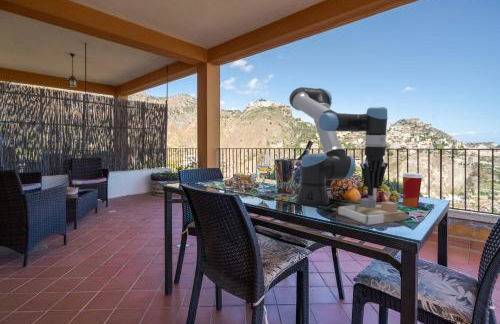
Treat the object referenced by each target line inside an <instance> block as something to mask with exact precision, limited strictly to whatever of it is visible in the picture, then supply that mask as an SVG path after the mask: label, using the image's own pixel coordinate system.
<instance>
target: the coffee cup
mask: <svg viewBox="0 0 500 324" xmlns="http://www.w3.org/2000/svg"><path fill="white" fill-rule="evenodd" d="M401 176H402V206H404V207H409V208H418V207H419V202H420V196H421V188H422V182H423V181H422V180H423V175H422V173H417V172H416V173H415V172H404V173H402V175H401Z"/></svg>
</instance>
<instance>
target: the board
mask: <svg viewBox="0 0 500 324" xmlns="http://www.w3.org/2000/svg"><path fill="white" fill-rule="evenodd" d="M354 205H355V206H356V207H355V211H356V212H358V213H361V214H364V215H367V216H370V215H379V214H383V215H384V222H383V223H382V224H384V223H385V224H386V223H392V222H394V223H395V222H399V221H405V220H406V218H407V217H406V216H407V214H406V211H403V210H400V209H397V211H396V212H387V211H384V210H381V204H378V203H376V204H375V207H374V208H365V207H362V206H360V204H354Z"/></svg>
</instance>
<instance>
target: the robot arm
mask: <svg viewBox="0 0 500 324" xmlns="http://www.w3.org/2000/svg"><path fill="white" fill-rule="evenodd" d="M332 100H333V99H332V93H331V92H329V90H328V89H325V88H317V87H316V88H315V87H305V86H304V87H303V86H301V87H297V88H295V89H293V90H292V92H291V93H290V95H289V98H288V101H289V104H290V106H291V107H292V108H293V109H294V110H297V112H298V111H300V112H303V113H304V114H306V115H307V116H309V117H310V118H311V119H313V122H314V124H315V129H316V132H317V135H318V138H319V141H320V144H321V147H322V150H323V152H316V153H315V152H314V153H309V154H305V155H302V157H301V161H300V187H299V190H298V192H297V195H296V202H297V203H298V204H301V205H305V206H314V207H315V206H316V207H317V206H318V207H319V206H321V207H322V206H326V205H330V198H329V195H328V191H327V187H326V185H327V181H330V180H331V181H336V180H339V181H341V180H348V179H350V178H351V177H352V176H353V175H354V172H355V169H356V161H355V159H354V158H353V156H351V155H347V154H348V153H347V152H346V151H347V150H346V149H345V148H342V147H341V143H340V141H339V138H338V136H337V132H350V133H362V132H363V133H364V132H365V142H364V145H365V147H364V155H365V156H366V157H365V160H364V162H363V163H361V162H360V163H359V166H360V168H361V173H362V180H363V186H364V187H366V188H367V196H368V197H367V198H369V199H373V200H376V201H377V196H378V190H379V189H381V187H382V186H383V183H384V179H385V173H386V171H387V167H388V166H389V164H388V163H389V162H388V163H387V162H385V159H384V156H386V144H387V143H386V142H387V141H386V139H387V129H388V126H387V125H388V118H389V117H388V109H387V108H386V107H385V106H372V107H368V108H367V110H366V113H358V114H357V113H339V112H336V111H334V110H332V109H331V106H332V102H333V101H332ZM375 204H377V202H376V203H375Z"/></svg>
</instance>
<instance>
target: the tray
mask: <svg viewBox="0 0 500 324" xmlns="http://www.w3.org/2000/svg"><path fill="white" fill-rule="evenodd" d="M355 205H356V204H354V205H344V206H343V205H342V206H338V211H337V214H338V215H340V216H342V217H344V218H348V219H349V220H351V221H352V220H353V221H355V222H358V223H360V224H363V225H365V226H370V225H377V224H384V223H383V222H384V215H383V214H379V215H370V216H367V215H364V214H361V213H358V212H356V211H355V207H356V206H355Z"/></svg>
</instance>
